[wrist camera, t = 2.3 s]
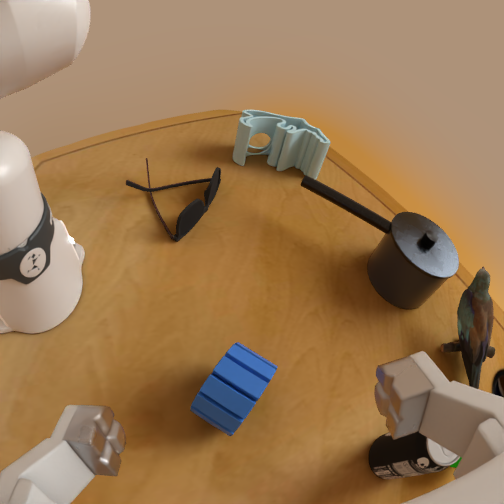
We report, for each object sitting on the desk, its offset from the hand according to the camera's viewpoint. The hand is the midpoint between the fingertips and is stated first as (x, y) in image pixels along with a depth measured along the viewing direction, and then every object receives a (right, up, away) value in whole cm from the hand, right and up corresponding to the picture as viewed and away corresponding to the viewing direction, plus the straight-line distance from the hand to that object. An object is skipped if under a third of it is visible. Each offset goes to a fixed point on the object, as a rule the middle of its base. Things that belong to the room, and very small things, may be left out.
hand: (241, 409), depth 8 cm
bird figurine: (+36, -13, +36) cm, 52 cm away
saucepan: (+20, +4, +46) cm, 50 cm away
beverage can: (+18, -22, +24) cm, 37 cm away
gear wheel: (-2, -13, +27) cm, 29 cm away
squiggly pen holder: (+5, +24, +59) cm, 64 cm away
